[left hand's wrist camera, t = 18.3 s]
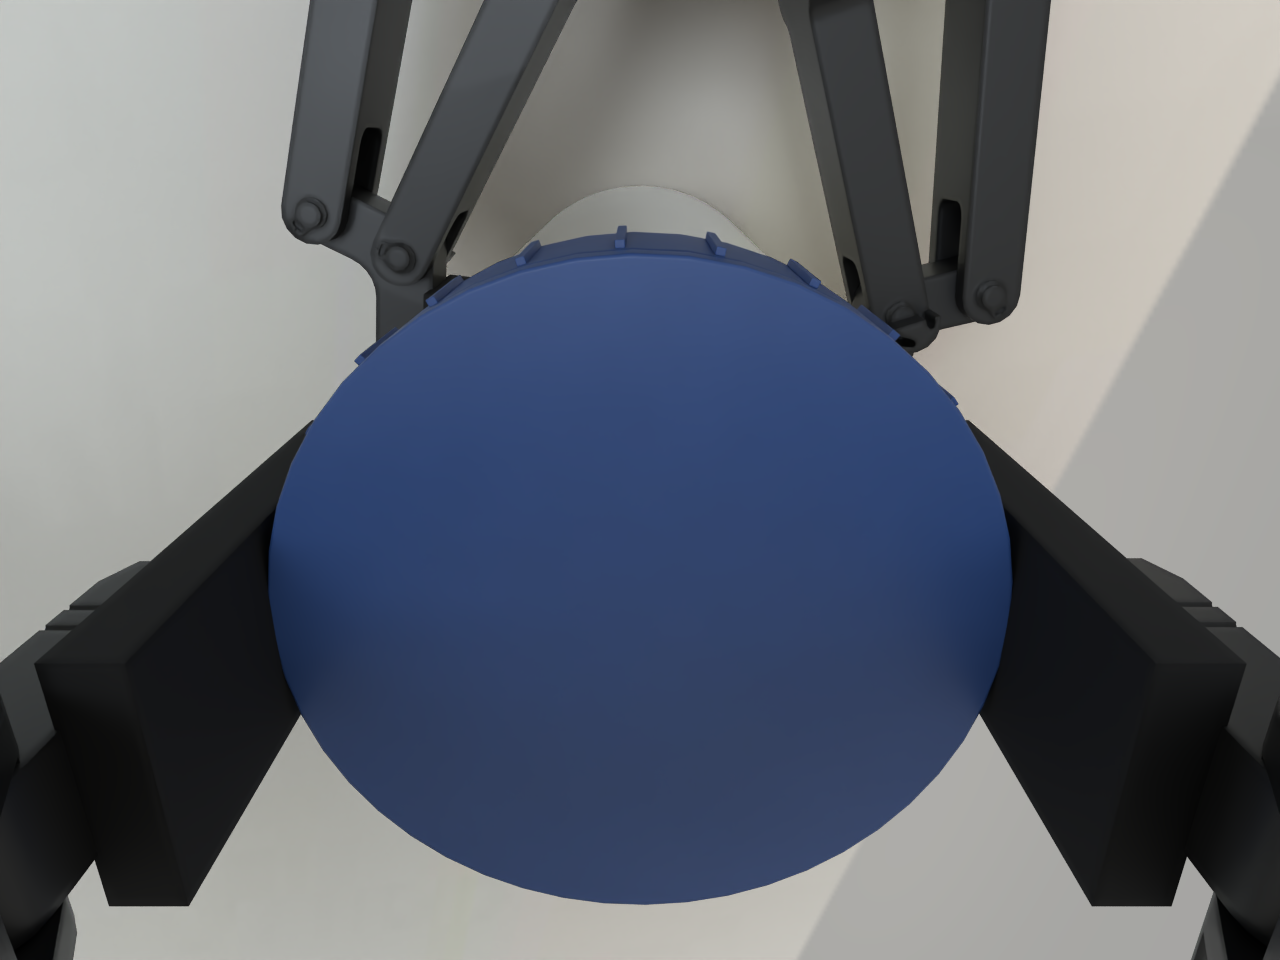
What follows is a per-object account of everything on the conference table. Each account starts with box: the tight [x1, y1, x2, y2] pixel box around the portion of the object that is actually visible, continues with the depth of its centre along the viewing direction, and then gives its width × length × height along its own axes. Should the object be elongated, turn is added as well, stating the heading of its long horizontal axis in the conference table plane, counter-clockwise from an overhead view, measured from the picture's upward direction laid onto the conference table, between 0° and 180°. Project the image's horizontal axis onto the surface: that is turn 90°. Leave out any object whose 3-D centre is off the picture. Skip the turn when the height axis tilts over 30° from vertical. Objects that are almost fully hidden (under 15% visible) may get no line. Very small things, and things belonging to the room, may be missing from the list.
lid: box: [268, 225, 1013, 905], centre depth 11 cm, size 9×9×2 cm
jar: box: [514, 185, 767, 256], centre depth 18 cm, size 8×8×17 cm
